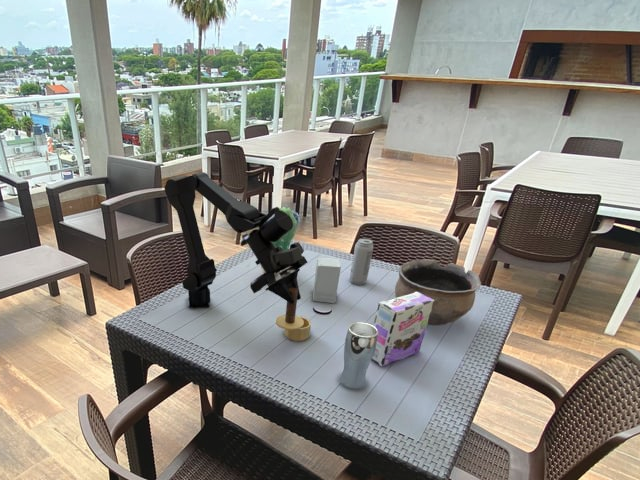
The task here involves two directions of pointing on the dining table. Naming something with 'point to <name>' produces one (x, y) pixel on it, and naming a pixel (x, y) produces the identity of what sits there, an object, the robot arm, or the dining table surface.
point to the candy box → (401, 327)
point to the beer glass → (358, 354)
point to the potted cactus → (287, 238)
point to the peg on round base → (290, 314)
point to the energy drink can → (361, 261)
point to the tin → (299, 331)
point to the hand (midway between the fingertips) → (296, 301)
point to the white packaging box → (326, 280)
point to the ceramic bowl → (439, 288)
